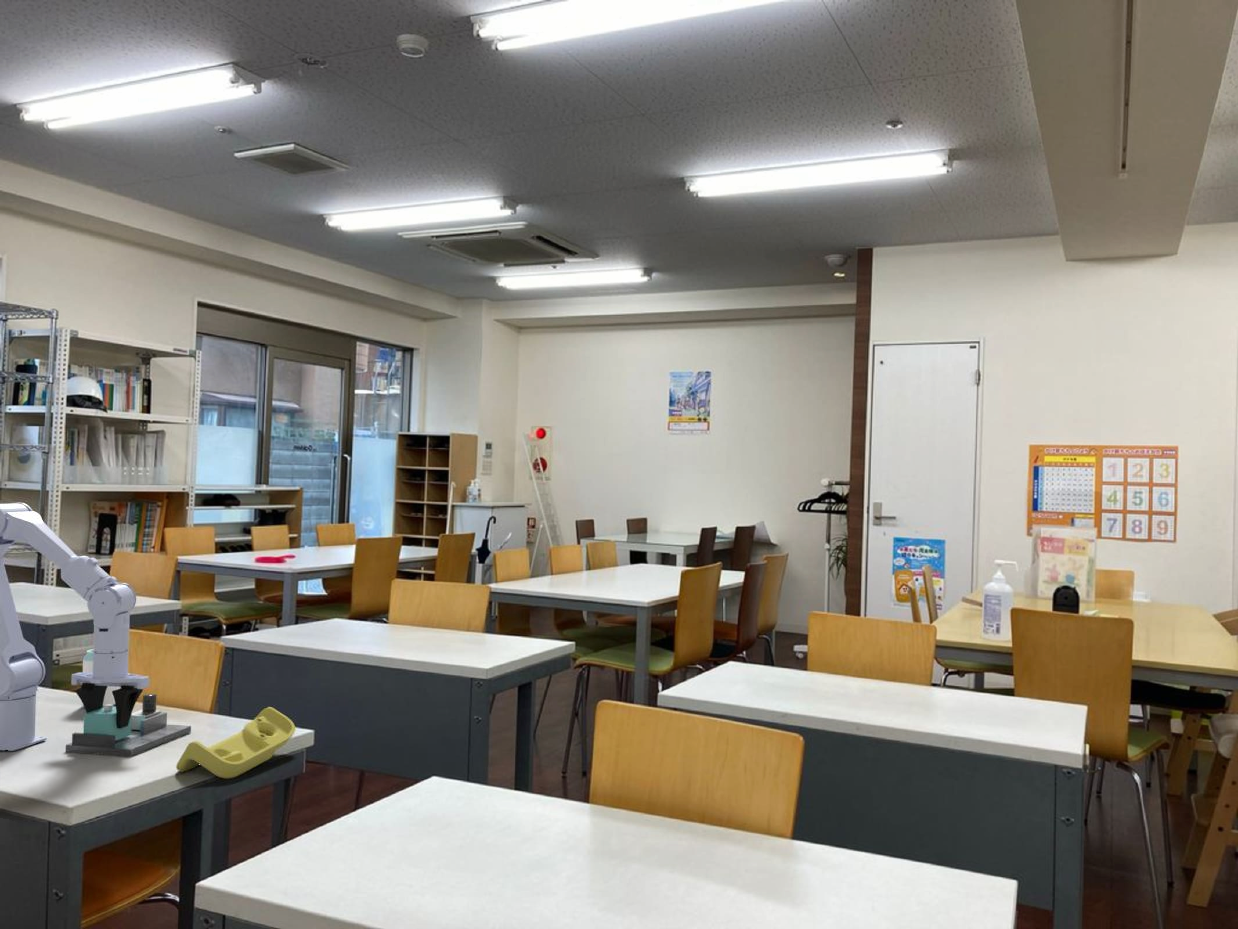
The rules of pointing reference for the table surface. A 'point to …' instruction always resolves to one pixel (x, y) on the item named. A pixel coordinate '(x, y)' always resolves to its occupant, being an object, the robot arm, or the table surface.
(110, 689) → the can
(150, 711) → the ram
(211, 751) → the plastic component
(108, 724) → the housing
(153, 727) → the press bed
